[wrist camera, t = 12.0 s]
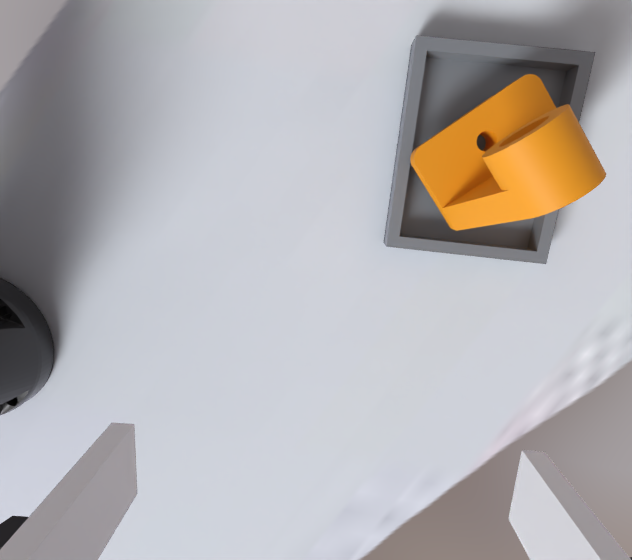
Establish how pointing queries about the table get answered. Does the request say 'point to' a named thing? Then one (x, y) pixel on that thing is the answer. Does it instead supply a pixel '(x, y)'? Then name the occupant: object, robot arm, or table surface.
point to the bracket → (508, 159)
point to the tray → (452, 103)
